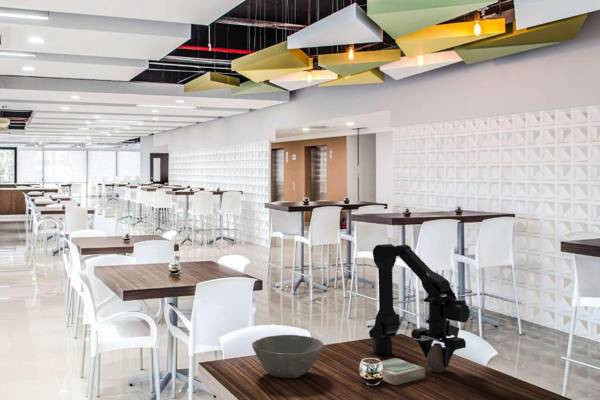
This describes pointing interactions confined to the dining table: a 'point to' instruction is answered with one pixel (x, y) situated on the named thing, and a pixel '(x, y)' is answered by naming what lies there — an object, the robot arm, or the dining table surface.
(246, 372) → the dining table surface
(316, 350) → the ceramic bowl
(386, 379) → the plinth
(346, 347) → the dining table surface
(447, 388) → the dining table surface
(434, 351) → the vase
